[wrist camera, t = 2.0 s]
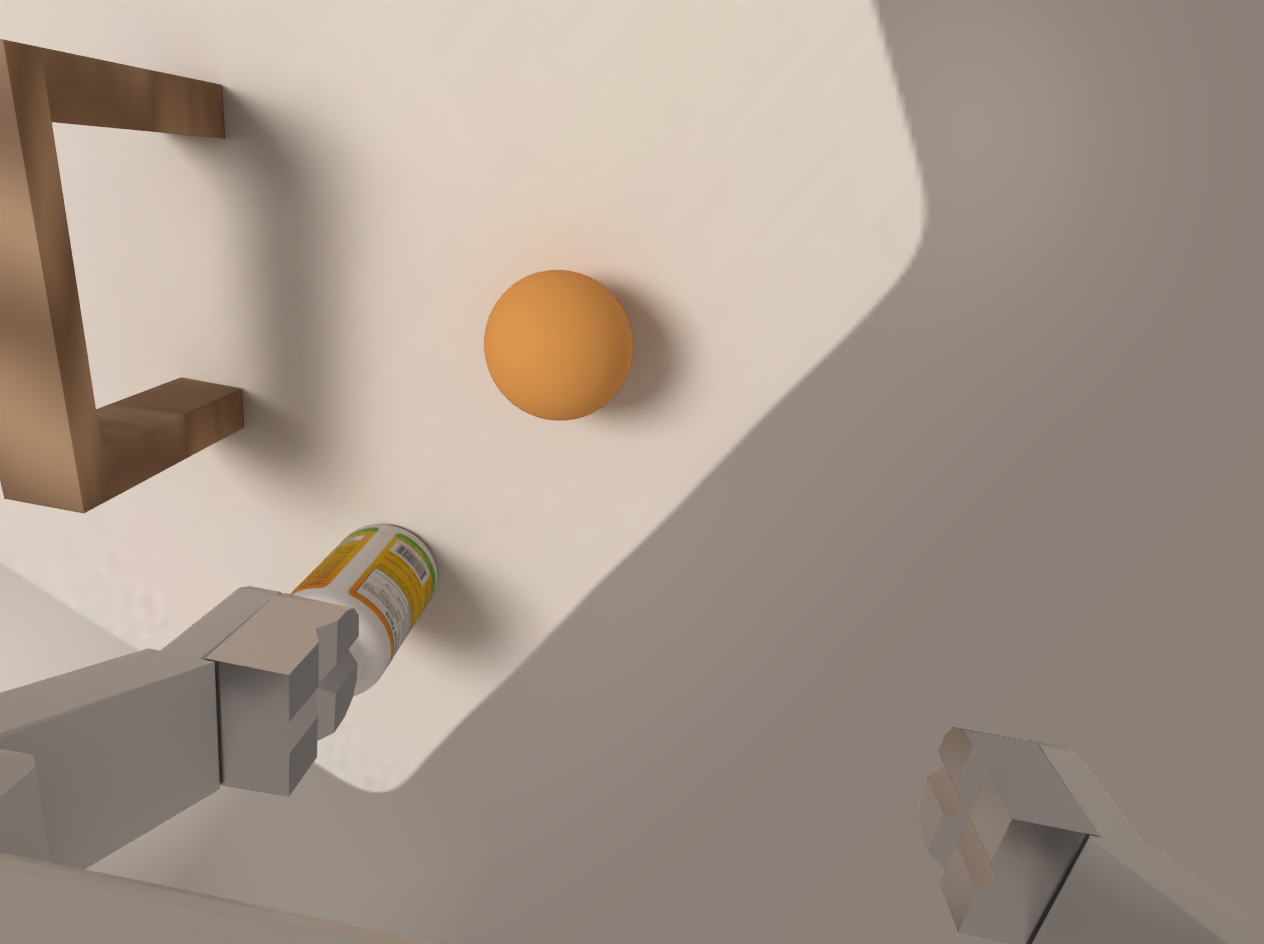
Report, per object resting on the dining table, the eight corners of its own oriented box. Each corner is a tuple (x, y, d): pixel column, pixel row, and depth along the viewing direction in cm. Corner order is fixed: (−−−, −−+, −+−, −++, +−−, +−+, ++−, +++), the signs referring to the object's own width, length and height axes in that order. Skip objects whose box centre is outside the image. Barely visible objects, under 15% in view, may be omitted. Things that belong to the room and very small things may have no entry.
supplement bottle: (336, 595, 38) (225, 724, 29) (344, 509, 36) (226, 619, 27) (433, 620, 38) (351, 756, 29) (446, 536, 36) (363, 654, 27)
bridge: (149, 72, 28) (-101, 21, 20) (221, 84, 28) (3, 39, 19) (184, 416, 34) (4, 498, 25) (243, 427, 34) (83, 513, 25)
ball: (511, 251, 30) (469, 266, 24) (649, 275, 30) (638, 296, 24) (500, 384, 32) (459, 426, 27) (627, 407, 32) (612, 453, 27)
